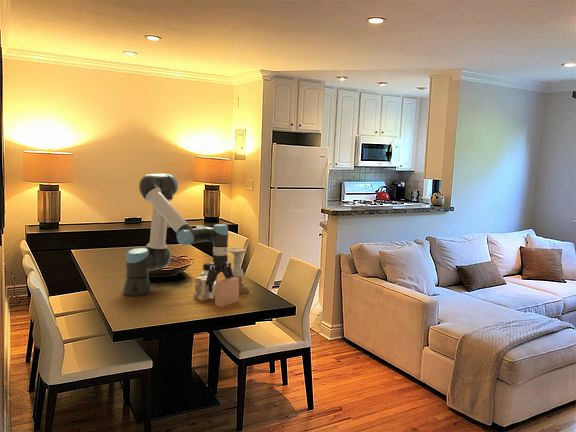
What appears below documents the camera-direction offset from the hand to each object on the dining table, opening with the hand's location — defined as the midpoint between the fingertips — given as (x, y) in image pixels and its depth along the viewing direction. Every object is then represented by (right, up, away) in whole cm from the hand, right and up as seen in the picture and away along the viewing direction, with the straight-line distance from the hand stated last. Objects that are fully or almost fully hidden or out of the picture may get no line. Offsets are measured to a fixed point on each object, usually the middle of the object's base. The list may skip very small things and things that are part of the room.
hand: (219, 295), depth 257 cm
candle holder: (+7, -1, +20) cm, 21 cm away
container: (-11, +1, +32) cm, 33 cm away
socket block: (+5, -3, -3) cm, 6 cm away
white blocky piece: (-9, -2, +7) cm, 11 cm away
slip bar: (-1, +2, +1) cm, 2 cm away
